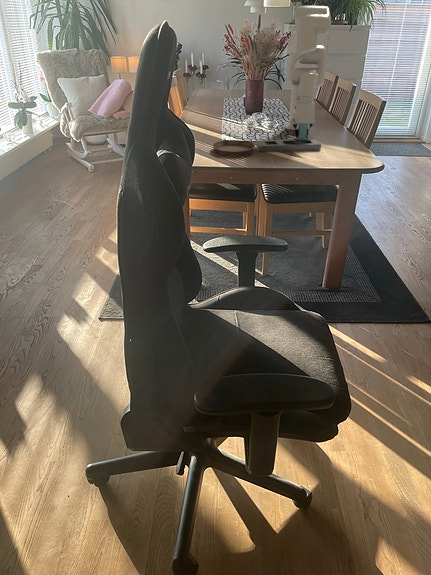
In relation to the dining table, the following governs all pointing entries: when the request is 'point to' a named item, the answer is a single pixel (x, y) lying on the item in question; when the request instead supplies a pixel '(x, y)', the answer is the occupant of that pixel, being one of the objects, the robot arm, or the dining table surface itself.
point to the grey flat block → (288, 145)
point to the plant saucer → (233, 147)
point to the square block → (302, 131)
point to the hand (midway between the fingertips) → (301, 136)
